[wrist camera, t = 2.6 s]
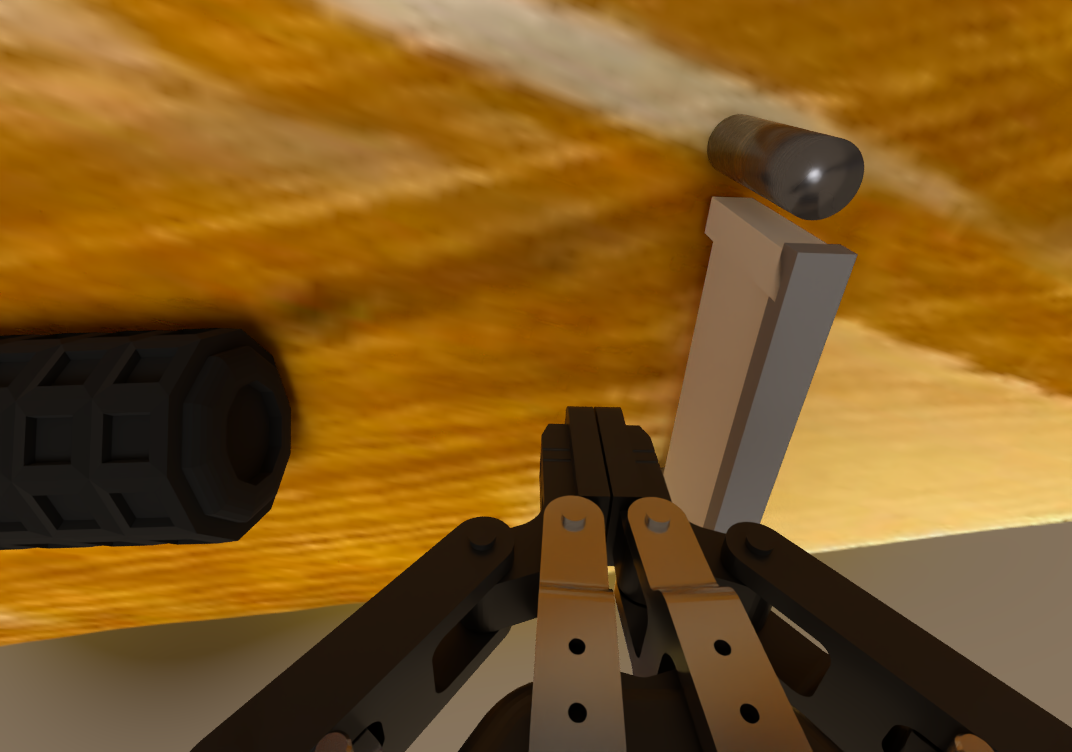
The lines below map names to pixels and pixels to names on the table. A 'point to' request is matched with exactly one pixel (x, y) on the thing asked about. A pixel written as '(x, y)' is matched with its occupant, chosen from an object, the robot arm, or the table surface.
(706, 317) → the panel
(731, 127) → the gate frame
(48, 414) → the roller
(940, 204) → the table surface
